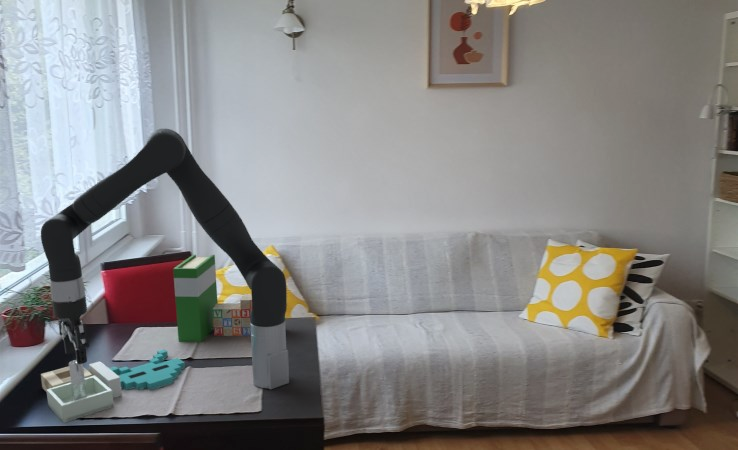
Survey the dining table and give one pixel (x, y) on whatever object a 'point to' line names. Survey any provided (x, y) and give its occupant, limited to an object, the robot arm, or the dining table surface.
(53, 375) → the socket block
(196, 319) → the hardback book
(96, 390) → the tray
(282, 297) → the robot arm
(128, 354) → the dining table surface
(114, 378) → the bar
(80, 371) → the steel dowel
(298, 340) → the dining table surface
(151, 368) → the alien figure
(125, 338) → the dining table surface
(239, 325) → the stack of blocks
